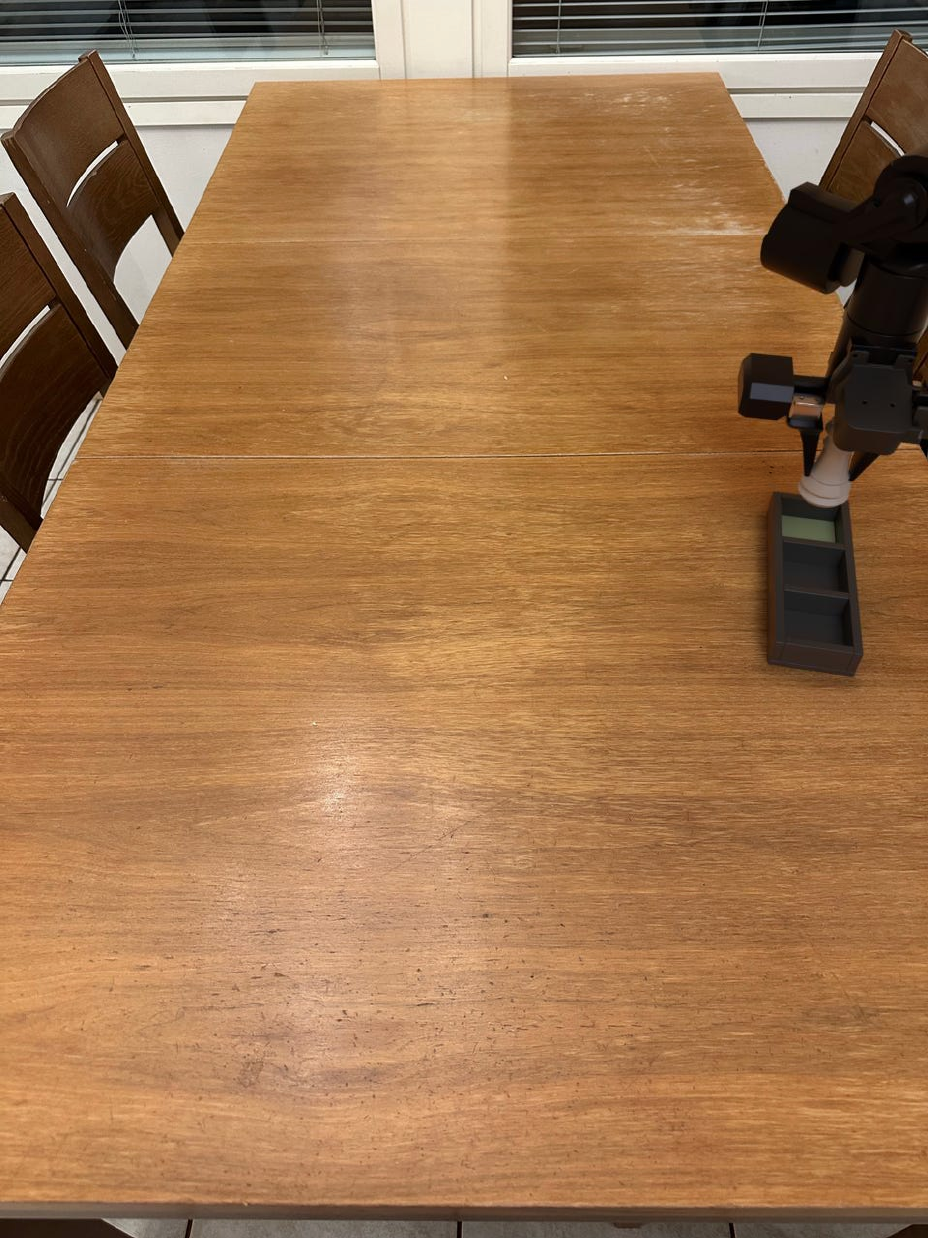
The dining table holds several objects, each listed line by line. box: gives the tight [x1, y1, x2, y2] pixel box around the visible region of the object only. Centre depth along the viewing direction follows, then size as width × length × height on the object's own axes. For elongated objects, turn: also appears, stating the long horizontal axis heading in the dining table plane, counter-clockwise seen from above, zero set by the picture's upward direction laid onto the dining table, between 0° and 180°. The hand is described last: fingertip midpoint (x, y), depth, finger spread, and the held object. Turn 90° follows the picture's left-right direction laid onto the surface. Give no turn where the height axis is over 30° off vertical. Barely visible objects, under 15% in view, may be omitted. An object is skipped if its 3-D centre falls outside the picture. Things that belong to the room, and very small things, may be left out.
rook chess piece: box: [797, 416, 855, 508], centre depth 82 cm, size 4×4×8 cm
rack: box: [765, 490, 865, 678], centre depth 90 cm, size 7×21×3 cm, turn 169°
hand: (827, 476), depth 83 cm, fingers closed on rook chess piece, 3 cm apart
